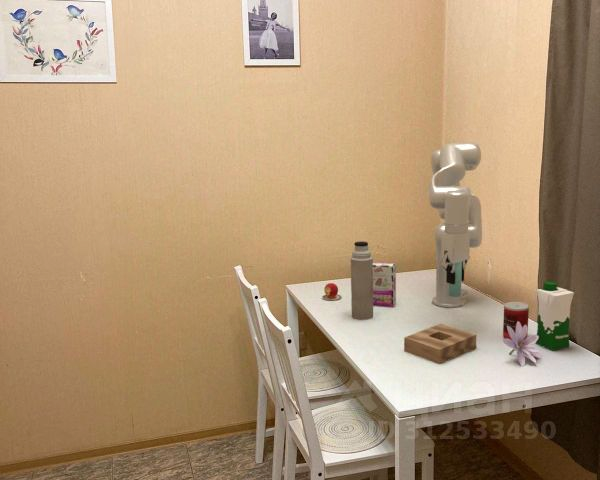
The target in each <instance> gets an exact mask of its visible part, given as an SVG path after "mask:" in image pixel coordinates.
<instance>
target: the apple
mask: <svg viewBox="0 0 600 480" xmlns="http://www.w3.org/2000/svg"><path fill="white" fill-rule="evenodd" d="M338 292H339V287H338V285H337V284H335V283H334V282H333V283H332V282H331V283H330V282H329V283H327V284H325V286H324V295H322V296H321V297H322V299H323V300H325V301H326V300H327V301H337V300H340V299H342V297H343V296H342V295H340V294H338Z"/></svg>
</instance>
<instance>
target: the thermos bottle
mask: <svg viewBox="0 0 600 480" xmlns="http://www.w3.org/2000/svg"><path fill="white" fill-rule="evenodd" d="M373 258H374V257H373V256H372V253H371V250H370V249H369V242H368V241H355V242H354V250H352V254H351V257H350V288H351V289H350V290H351V298H350V299H351V300H350V301H351V318H352V319H355V320H358V321H359V320H362V321H363V320H365V321H366V320H370V319H373V317H374V306H373V262H374V260H373Z"/></svg>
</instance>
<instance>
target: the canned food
mask: <svg viewBox="0 0 600 480" xmlns="http://www.w3.org/2000/svg"><path fill="white" fill-rule="evenodd" d="M503 305H504V306H503V321H502V322H503V324H502V330H503V331H502V335H503V339H506V338H507V339H511V337H510V335H509V333H508V330H507V326H509V327H511V328H512V329H513V330H514V332H516V324H517V322H518V321H519V322H520V324H521V326H522V328H523V326H524V325H527V334H526V337H525V339H526V338H527V337H528V331H529V330H528V329H529V316H530V315H529V311H530V310H529V309H530V308H529V307H530V306H529V305H528V304H527V303H525V302H521V301H509V302H506V303H504V304H503ZM525 339H524V340H525ZM511 340H512V339H511ZM524 340H523V341H524ZM512 341H513V340H512Z"/></svg>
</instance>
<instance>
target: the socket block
mask: <svg viewBox="0 0 600 480" xmlns="http://www.w3.org/2000/svg"><path fill="white" fill-rule="evenodd" d="M403 341H404V343H403V347H404V348H403V351H404V352H406V353H409V354H412V355H415V356H418V357H420V358H423V359H425V360H428V361H431V362H434V363H437V364H442V363H445V362H447V361H449V360H452V359H454V358H457V357H458V356H461V355H464V354H466V353H468V352H470V351H473V350H475V349H477V334H476V333H473V332H469V331H466V330H462V329H460V328H455V327H452V326H449V325H447V324H443V323H440V324H437V325H434V326H431V327H428V328H425V329H424V330H421V331H418V332H414V333H413V334H410V335H407V336H404V338H403Z"/></svg>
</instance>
